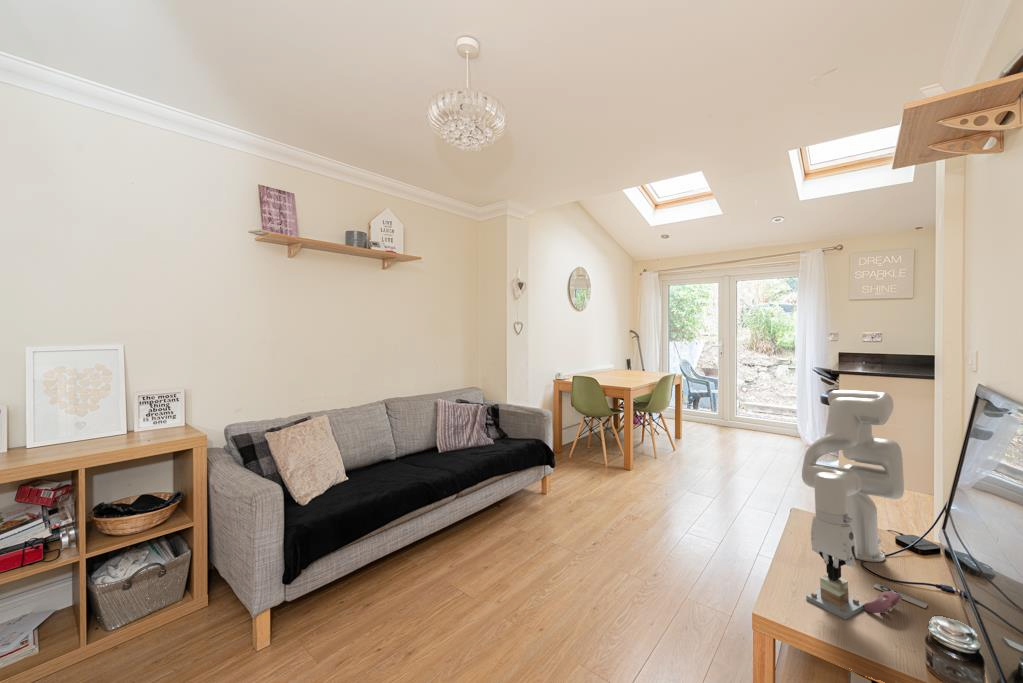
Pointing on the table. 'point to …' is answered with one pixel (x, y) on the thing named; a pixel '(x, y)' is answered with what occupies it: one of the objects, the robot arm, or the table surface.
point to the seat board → (842, 611)
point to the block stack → (834, 590)
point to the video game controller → (883, 602)
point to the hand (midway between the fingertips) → (834, 578)
